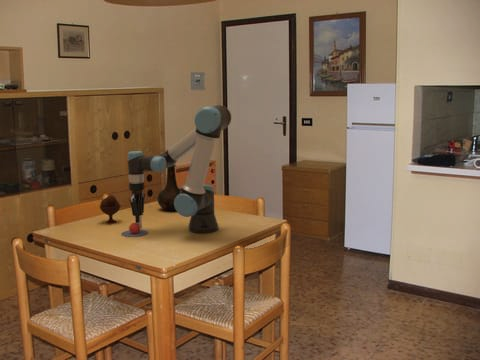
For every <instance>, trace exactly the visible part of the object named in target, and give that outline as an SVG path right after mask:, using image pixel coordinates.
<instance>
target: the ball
mask: <svg viewBox="0 0 480 360" xmlns="http://www.w3.org/2000/svg"><path fill="white" fill-rule="evenodd" d="M140 230H141V229H140V226H139V224H137V223H136V222H132V223H130V224H129V226H128V231H130V232H131V233H132V234H137V233H138V232H139V231H140Z"/></svg>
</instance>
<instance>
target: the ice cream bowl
mask: <svg viewBox="0 0 480 360" xmlns="http://www.w3.org/2000/svg"><path fill="white" fill-rule="evenodd" d="M121 206H122V205H121V204H120V201H118V200H117V198H116V197H115V195H111V194H110V195H108V196H107V197H105V198H103V199H102V200H101V202H100V205H99V209H100V211H101V212H102V213H103V214H105V215H107V216H108V220H106V221H105V223H106V224H115V223H117V221H116V219H113V215H115V214H116V213H118V212H119V211H120V209H121Z"/></svg>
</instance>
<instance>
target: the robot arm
mask: <svg viewBox="0 0 480 360" xmlns="http://www.w3.org/2000/svg"><path fill="white" fill-rule="evenodd" d="M193 120H194V125H195V128H194V129H192V130H191V131H190V132H188V133H186V135H184V136H183V137H182V138H180V140H178V141H177V142H175V143H174V144H173V145H171V146H170V147H169V148H168V149H166V150H165V151H164V152H162V153H159V154H155V155H144V153H143V151H140V150H132V151H129V152H127V167H128V168H127V169H128V176H127V177H128V182H129V183H128V188H129V189H128V190H129V191H131V197H129V200H128V201H129V203H130V209H131V213H132V216H133V217H135V223H137V224H139V226H140V230H142V228H143V220H142V216H144V211H145V198H146V193H143V191H144V190H145V172H153V173H154V172H155V173H161V172H164V171H165V170H166V169H167V167H171V166H173V165H176V164H177V162H179V160H180V159H182V158H183V157H184V156H186V155H187V154H188V153H190V152H191V151H193V153H192V157H191V161H190V165H189V169H188V173H187V177H186V180H185V183H184V184H182V185H181V188H180V189H181V191H180V194H179V195H177V197H176V198H175V200H174V206H175V209H176V212H177V214H179V215H180V216H182V217H184V218H185V217H186V218H188V217H189V218H190V219H189V222H188V231H189V232H190V233H196V234H197V233H198V234H206V233H207V234H208V233H214V232H216V231H218V230H219V223H218V220H217V218H216V214H215V188H214V186H213V185H212V184H211V185H210V184H205V182H206V178H207V174H208V171H209V168H210V167H209V166H210V164H211V163H210V162H211V160H212V159H211V158H212V155H213V150H214V148H215V143H216V141H217V140H218V139H220V137H221V134H222V131H223V130H225V129H227V128H228V127H229V126H230V125H231V122H232V114H231V110H229V109H228V108H227V107H226V106H224V105H222V104H221V105H220V104H217V105H207V106H204V107H202V108H200V109H199V110H198V111H197V112H196V113H195V117H194V119H193Z"/></svg>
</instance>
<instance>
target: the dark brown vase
mask: <svg viewBox="0 0 480 360" xmlns="http://www.w3.org/2000/svg"><path fill="white" fill-rule="evenodd" d="M175 167H177V165H176V164H175V165H173V166H171V167H167V168H166V183H165V188H164V189H163V190H161V191H160V192H159V193H158V196H157V203H158V205H159V207H160V208H161V209H163V210H164V211H168V212H169V211H170V212H175V211H176V209H175V206H174V200H175V198H176V197H177V195H179V194H180V191H181V188H179V186H178V184H177V178H176V168H175ZM176 212H177V211H176Z"/></svg>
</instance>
